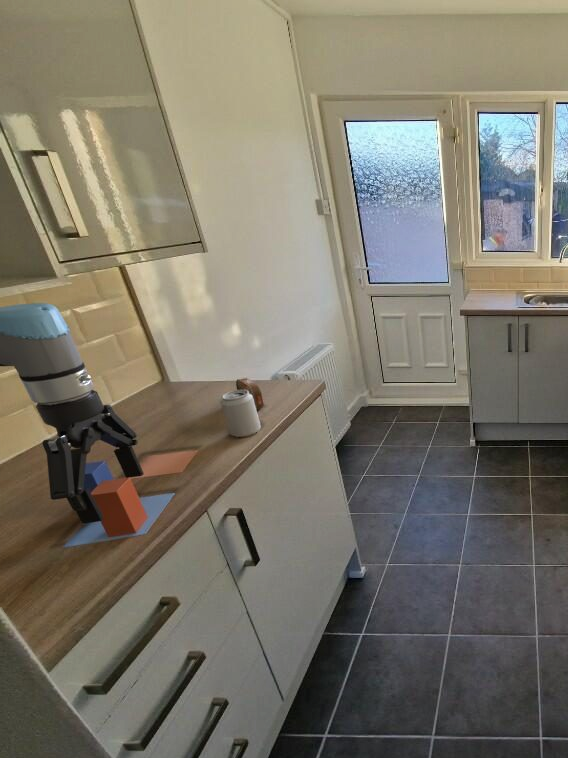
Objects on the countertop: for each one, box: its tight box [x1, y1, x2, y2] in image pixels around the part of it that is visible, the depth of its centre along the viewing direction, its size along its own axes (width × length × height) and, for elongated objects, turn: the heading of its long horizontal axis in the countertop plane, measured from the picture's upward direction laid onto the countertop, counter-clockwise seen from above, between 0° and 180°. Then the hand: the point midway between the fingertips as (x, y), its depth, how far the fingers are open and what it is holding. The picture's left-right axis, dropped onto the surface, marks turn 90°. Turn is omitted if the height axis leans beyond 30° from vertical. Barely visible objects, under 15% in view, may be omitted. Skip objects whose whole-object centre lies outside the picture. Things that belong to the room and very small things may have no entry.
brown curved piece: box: [235, 377, 265, 411], centre depth 130 cm, size 15×3×8 cm, turn 49°
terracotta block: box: [91, 477, 148, 538], centre depth 80 cm, size 4×4×10 cm
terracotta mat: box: [130, 449, 200, 480], centre depth 102 cm, size 12×10×1 cm
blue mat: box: [61, 492, 176, 549], centre depth 84 cm, size 14×13×1 cm
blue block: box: [74, 460, 115, 492], centre depth 85 cm, size 4×4×10 cm
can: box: [220, 389, 262, 438], centre depth 114 cm, size 8×8×12 cm
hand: (116, 496), depth 79 cm, fingers open, 13 cm apart
